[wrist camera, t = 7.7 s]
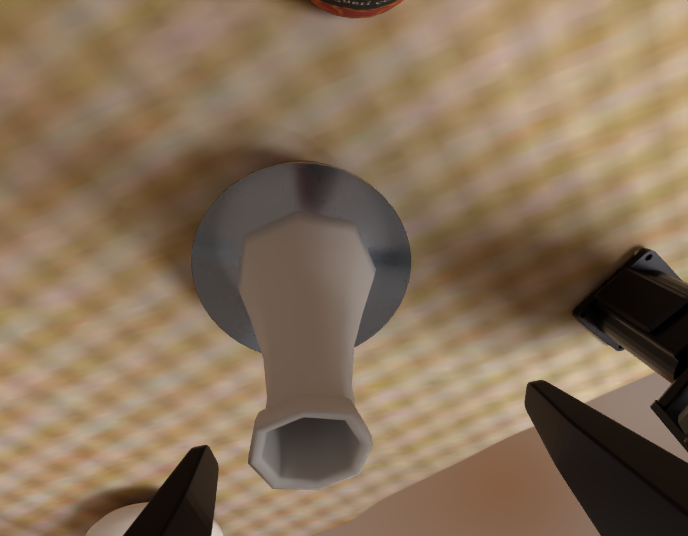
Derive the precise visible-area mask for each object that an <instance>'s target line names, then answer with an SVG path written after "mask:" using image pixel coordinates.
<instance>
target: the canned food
mask: <svg viewBox="0 0 688 536" xmlns="http://www.w3.org/2000/svg"><path fill="white" fill-rule="evenodd" d="M310 1H311V2H313V3H314V4H315V5H317V6H318V7H319V8H321V9H323V10H326V11H328V12H330V13H332V14H334V15H337V16H343V17H348V18H366V17H372V16H375V15H378V14H381V13H384V12H386V11H388V10H389V9H391V8H393V7H394V6H396V5H398V4H399V3H401V2H402V1H403V0H310Z"/></svg>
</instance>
